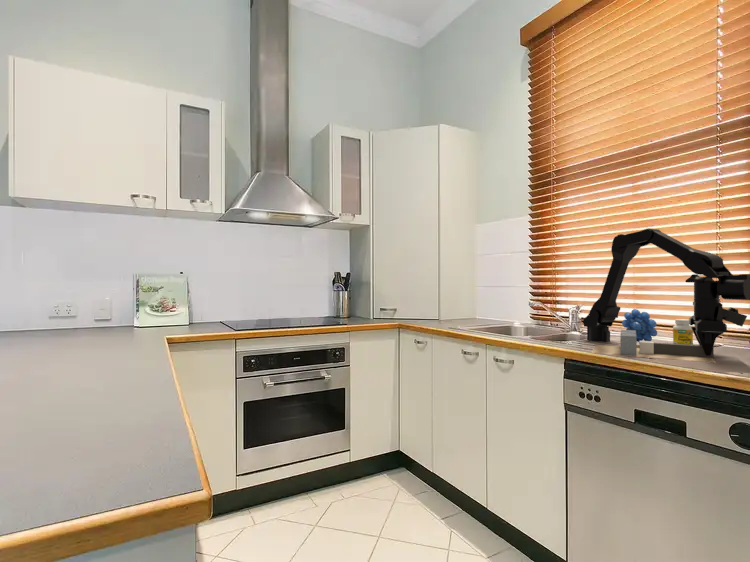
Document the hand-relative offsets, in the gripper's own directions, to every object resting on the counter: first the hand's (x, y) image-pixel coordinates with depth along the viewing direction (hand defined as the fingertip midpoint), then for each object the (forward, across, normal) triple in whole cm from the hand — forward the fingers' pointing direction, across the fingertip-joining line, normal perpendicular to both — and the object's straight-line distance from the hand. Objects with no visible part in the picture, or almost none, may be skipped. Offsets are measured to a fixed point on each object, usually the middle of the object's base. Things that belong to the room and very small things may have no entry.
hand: (706, 353), depth 120 cm
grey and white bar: (+1, 0, +8) cm, 8 cm away
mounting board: (+2, 0, +14) cm, 14 cm away
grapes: (+2, +32, +16) cm, 35 cm away
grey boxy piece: (+1, 0, +19) cm, 19 cm away
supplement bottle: (+2, +23, +3) cm, 23 cm away
